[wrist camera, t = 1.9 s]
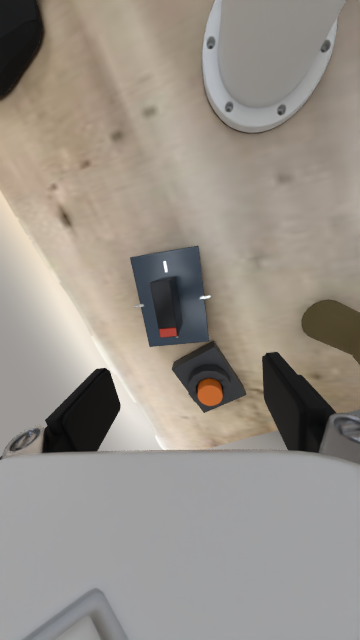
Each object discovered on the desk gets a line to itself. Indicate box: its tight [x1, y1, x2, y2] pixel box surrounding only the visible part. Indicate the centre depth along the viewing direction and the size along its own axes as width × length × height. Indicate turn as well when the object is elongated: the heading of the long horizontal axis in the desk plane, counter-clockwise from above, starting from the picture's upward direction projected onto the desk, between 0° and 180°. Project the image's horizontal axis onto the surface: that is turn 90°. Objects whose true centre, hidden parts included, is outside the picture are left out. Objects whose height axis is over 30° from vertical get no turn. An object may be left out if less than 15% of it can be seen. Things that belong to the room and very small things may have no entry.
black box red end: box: [150, 277, 183, 338], centre depth 22 cm, size 6×2×5 cm, turn 9°
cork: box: [302, 300, 360, 364], centre depth 21 cm, size 6×6×11 cm
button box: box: [172, 341, 246, 413], centre depth 29 cm, size 10×8×4 cm
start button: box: [198, 378, 223, 406], centre depth 26 cm, size 4×4×2 cm
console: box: [130, 246, 211, 347], centre depth 26 cm, size 13×11×3 cm
